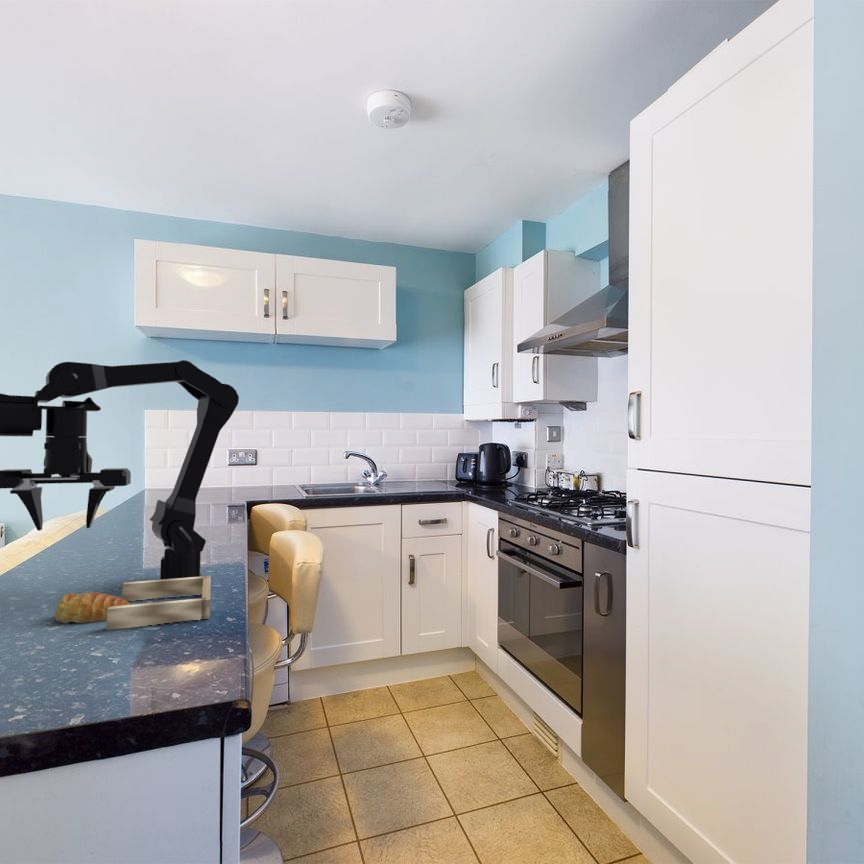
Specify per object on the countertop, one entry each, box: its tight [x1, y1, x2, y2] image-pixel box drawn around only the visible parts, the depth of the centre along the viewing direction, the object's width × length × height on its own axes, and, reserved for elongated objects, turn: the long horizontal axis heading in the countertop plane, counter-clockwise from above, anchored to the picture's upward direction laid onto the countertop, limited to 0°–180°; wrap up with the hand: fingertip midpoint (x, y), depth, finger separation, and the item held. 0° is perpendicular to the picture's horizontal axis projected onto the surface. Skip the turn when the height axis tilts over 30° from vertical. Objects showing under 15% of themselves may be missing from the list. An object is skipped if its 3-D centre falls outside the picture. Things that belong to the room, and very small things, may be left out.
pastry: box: [54, 591, 131, 624], centre depth 81 cm, size 9×7×4 cm
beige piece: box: [106, 575, 212, 631], centre depth 85 cm, size 14×15×3 cm
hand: (64, 529), depth 89 cm, fingers open, 7 cm apart
